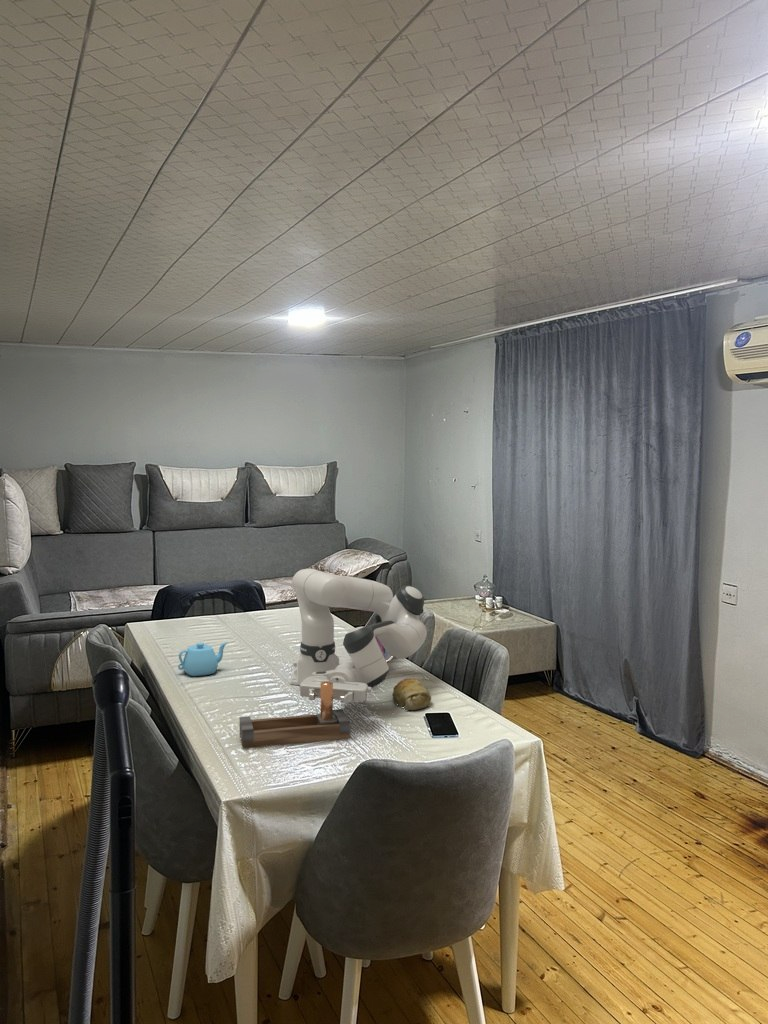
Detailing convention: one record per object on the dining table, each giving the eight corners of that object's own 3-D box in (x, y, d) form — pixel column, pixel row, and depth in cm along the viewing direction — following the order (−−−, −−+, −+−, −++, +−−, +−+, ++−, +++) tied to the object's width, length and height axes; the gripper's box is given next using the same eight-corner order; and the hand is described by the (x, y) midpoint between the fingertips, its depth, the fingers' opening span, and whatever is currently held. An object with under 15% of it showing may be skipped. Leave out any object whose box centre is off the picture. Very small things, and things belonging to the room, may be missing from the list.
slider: (316, 724, 223) (316, 680, 222) (333, 722, 224) (333, 679, 223) (319, 731, 217) (320, 687, 216) (337, 730, 218) (337, 685, 217)
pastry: (399, 695, 255) (399, 671, 255) (435, 699, 251) (436, 675, 251) (385, 709, 242) (385, 684, 241) (423, 714, 238) (424, 688, 237)
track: (239, 734, 219) (239, 717, 219) (342, 725, 227) (342, 709, 227) (242, 747, 210) (242, 730, 209) (349, 738, 218) (350, 721, 217)
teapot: (232, 644, 275) (180, 649, 268) (232, 674, 276) (181, 679, 269) (224, 636, 286) (174, 641, 279) (224, 664, 287) (175, 669, 280)
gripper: (373, 697, 232) (362, 712, 218) (308, 691, 236) (293, 706, 223) (373, 676, 231) (362, 691, 218) (308, 671, 236) (293, 685, 222)
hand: (326, 698), depth 220 cm, fingers open, 8 cm apart
